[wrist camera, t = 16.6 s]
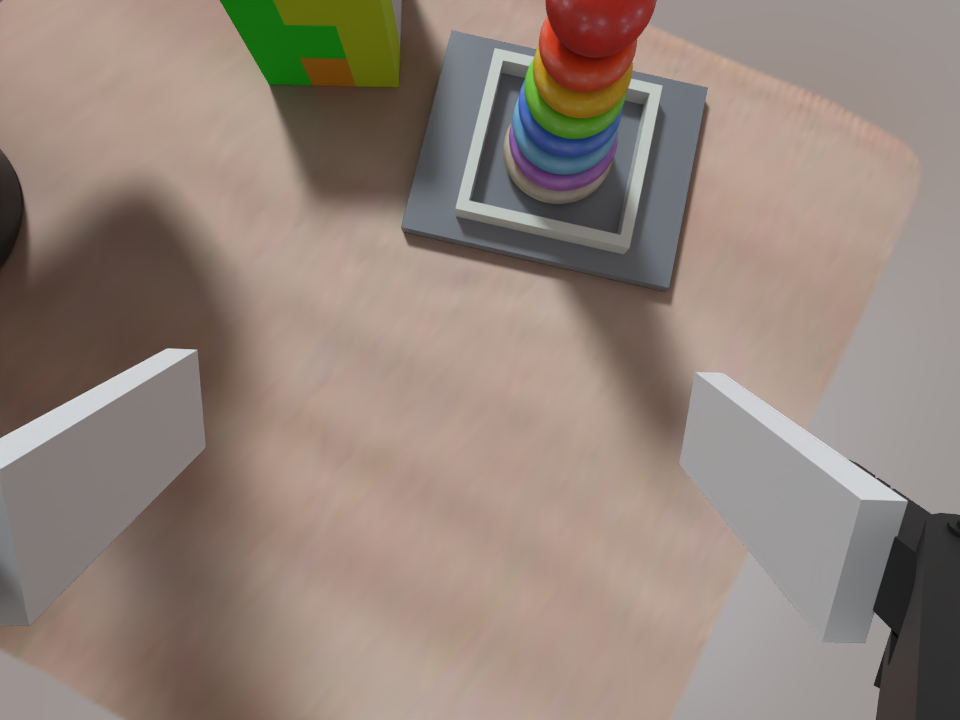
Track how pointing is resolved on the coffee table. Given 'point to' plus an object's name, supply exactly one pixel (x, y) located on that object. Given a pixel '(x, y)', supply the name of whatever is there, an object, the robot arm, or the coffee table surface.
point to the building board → (544, 226)
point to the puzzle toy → (322, 40)
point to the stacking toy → (574, 98)
